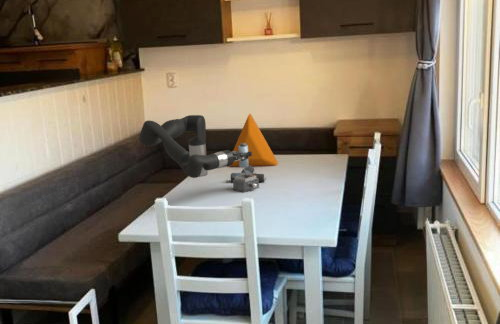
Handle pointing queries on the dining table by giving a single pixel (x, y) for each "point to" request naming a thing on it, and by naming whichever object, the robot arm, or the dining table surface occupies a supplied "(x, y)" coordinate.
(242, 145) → the capped canister
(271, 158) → the decorative object
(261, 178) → the power drill
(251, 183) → the grey metal open box
